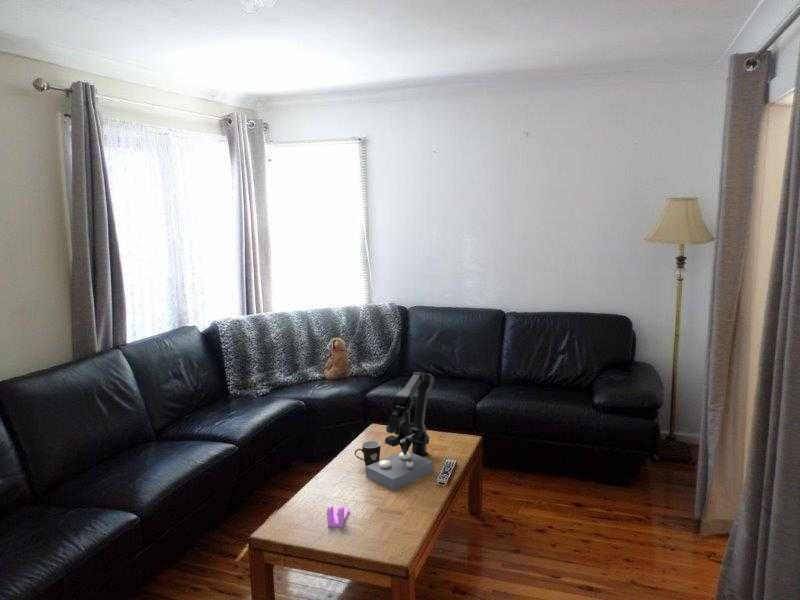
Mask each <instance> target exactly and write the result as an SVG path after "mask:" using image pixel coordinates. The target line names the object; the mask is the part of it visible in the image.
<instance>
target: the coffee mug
mask: <svg viewBox="0 0 800 600" xmlns="http://www.w3.org/2000/svg"><path fill="white" fill-rule="evenodd" d="M361 446H362V448H356V450H355V451H354V456H355V457H356V458H357V459H359V460H361V461H363V462H364V464H365V467H366V466H368V465H371V464H373V463H376V462H378V461H380V460H381V459H380V457H381V446H382V445H381V442H380V441H378V440H367V441H364V442H362V443H361ZM358 451H361V453H362V455H363V458H361V457H359V456H358V455H357V452H358Z"/></svg>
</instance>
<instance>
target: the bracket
mask: <svg viewBox="0 0 800 600" xmlns="http://www.w3.org/2000/svg"><path fill="white" fill-rule="evenodd" d="M349 513H350V509H349V507H347V506H345V505H342V506H341V505H340V506H337V507H336V508H334V506H331V505H330V506H327V509H326V520H327V521H326V522H327V527H332V528H333V527H335V528H343V527H344V524H345V522H346V520H347V518H348V516H349Z"/></svg>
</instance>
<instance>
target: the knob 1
mask: <svg viewBox="0 0 800 600" xmlns="http://www.w3.org/2000/svg"><path fill="white" fill-rule="evenodd" d="M381 460H382V461H380V460H379V461H380V462H379V467H381V468H384V469H385V468H388V467H390V466H391V461H389V460H383V459H381Z"/></svg>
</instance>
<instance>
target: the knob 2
mask: <svg viewBox="0 0 800 600" xmlns="http://www.w3.org/2000/svg"><path fill="white" fill-rule="evenodd" d="M409 452H410V451H409ZM409 452H407V454H403V452H402V451H401V453H400V452H399V453H400V454H399V458H400V459H403V460H406V459H409V458H411V454H410V453H409Z"/></svg>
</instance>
